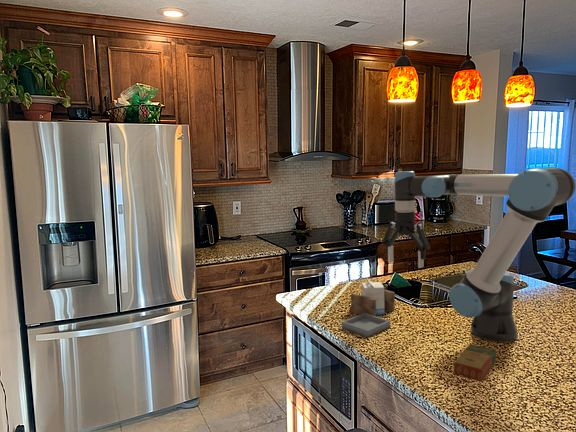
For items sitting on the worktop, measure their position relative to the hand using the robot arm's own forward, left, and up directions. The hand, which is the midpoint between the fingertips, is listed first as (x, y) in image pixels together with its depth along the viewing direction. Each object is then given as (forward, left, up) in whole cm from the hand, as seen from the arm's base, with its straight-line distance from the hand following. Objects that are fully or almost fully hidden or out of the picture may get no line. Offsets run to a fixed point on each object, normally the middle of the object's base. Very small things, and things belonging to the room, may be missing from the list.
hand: (405, 264), depth 168 cm
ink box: (+15, +2, -23) cm, 27 cm away
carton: (-37, +19, -23) cm, 48 cm away
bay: (+15, +2, -22) cm, 27 cm away
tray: (+6, +18, -22) cm, 29 cm away
